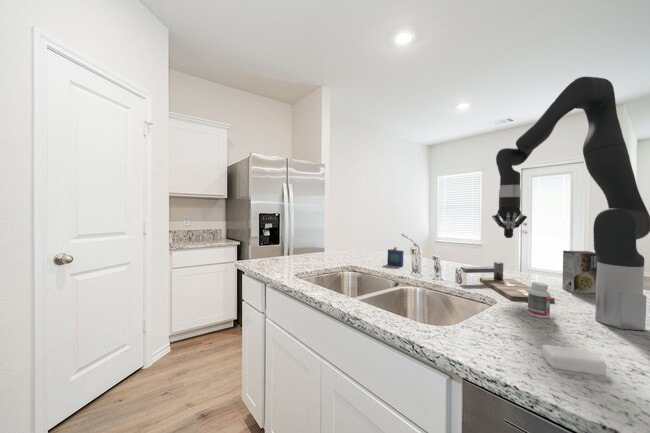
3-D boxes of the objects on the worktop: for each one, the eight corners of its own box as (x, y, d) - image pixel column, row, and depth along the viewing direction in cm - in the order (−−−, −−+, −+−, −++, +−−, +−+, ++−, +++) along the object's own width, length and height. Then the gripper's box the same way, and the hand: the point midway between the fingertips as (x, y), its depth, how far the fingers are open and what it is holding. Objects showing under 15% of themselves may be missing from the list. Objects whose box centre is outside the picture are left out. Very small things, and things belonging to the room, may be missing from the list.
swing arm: (465, 280, 120) (466, 264, 120) (460, 278, 124) (460, 262, 124) (505, 279, 122) (505, 263, 122) (498, 277, 126) (499, 262, 126)
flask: (403, 265, 160) (404, 247, 160) (402, 266, 157) (402, 247, 157) (388, 264, 164) (388, 246, 164) (386, 265, 162) (386, 246, 162)
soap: (590, 363, 59) (591, 349, 59) (608, 378, 54) (608, 362, 54) (540, 356, 62) (540, 342, 62) (552, 369, 56) (552, 355, 56)
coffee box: (584, 289, 115) (586, 250, 115) (598, 294, 109) (600, 253, 108) (561, 288, 116) (562, 250, 115) (573, 293, 109) (574, 252, 109)
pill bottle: (551, 319, 82) (552, 287, 81) (529, 316, 84) (530, 284, 84) (547, 314, 86) (548, 283, 86) (526, 310, 89) (527, 280, 89)
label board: (554, 302, 97) (554, 297, 97) (511, 300, 99) (511, 295, 99) (512, 282, 125) (512, 278, 125) (479, 280, 127) (479, 277, 127)
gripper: (496, 195, 112) (495, 238, 113) (532, 196, 111) (531, 239, 111) (488, 196, 120) (487, 236, 120) (521, 196, 118) (520, 237, 118)
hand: (508, 237), depth 116 cm, fingers closed
